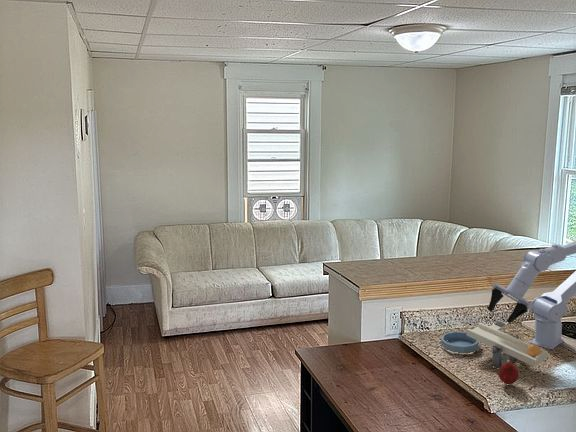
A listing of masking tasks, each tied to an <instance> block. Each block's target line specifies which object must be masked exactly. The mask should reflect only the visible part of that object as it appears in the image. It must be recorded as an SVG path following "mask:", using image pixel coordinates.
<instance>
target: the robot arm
mask: <svg viewBox="0 0 576 432" xmlns="http://www.w3.org/2000/svg"><path fill="white" fill-rule="evenodd" d="M575 254H576V240H574V241H571V242H569V243H567V244H565V245H563V246H562V245H560V244H557V243H553V244H551V246H549V247H546V248H539V250H538V251H536V250H530V251H528V252H527V253H525V254H524V256H523V258H522V259H523V260H522V263H521V265H520V268H519V270H518V271H517V273H516V274H515V275H514V277H513V279H512V280H511V281H510V283H509V284H508V286H507V288H506V287H504V286H502V285H501V284H499V283H496V282H494V283H493V285H492V286H491V287H492V290H491V298H490V301H489V304H488V307H487V310H488V311H489V312H490V313H492V311H493V310H494V309H495V307H496V305H497V304H498V303H499V302H500V301H501V300H502V299H503V298H504V296H506V297H507V298H510V299H511V300H513V301H514V302H516V305H515V307H514V309H513V311H512V312H511V314H510V315H509V317H508V318H507V319H506V323H507V324H508V323H509V324H512V323H513V322H514V321H515V320H516V319H517V318H519V317H520V316H522V315H524V314H526V313H528V311H531V312H532V313H533V316H534V317H535V318H534V319H535V322H534V338H533V339H531V340H530V341H529V344H537V345H538V346H539V347H542V348H545V349H548V350H553V349H555V348H556V347H558V346H559V345H560V344H562V343H563V342H564V341H565V340H564V338H562V334H563V333H562V331H563V330H562V329H563V327H562V326H563V324H562V323H563V322H562V318H563V317H564V315H565V313H566V312H567V311H568V305H567V304H568V302H569V301H570V300H571V299H572V298H574V296H575V295H576V270H575V271H574V272H572V274H571V275H569V277H567V278H566V279H565V280H564V281H563V282H562V283H560V285H558V287H556V288H555V289H554V290H553V291H549V292H543V293H542V294H541V295H539V296H537V297H535V298H534V299H532V301H531V302H530V301H528V300H526V299H524V296H525V295H526V294H527V291H528V290H529V289H530V287H532V284H533V283H534V282H535V280H536V278H538V275H539V274H540V272H544V271H546V270H548V269H549V267H550V266H552V265H555V264H558V263H561V262H563V261H565V260H566V258H567V256H571V255H575Z"/></svg>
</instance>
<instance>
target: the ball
mask: <svg viewBox="0 0 576 432" xmlns="http://www.w3.org/2000/svg"><path fill="white" fill-rule="evenodd" d="M529 344H530V345H529V346H528V347H527V352H528V354H529V355H530V356H533V357H536V356H537V355H539V354H540V353H541V349H542V348H541V346H538V345H537V344H531V343H529Z"/></svg>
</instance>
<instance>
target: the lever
mask: <svg viewBox="0 0 576 432" xmlns="http://www.w3.org/2000/svg"><path fill="white" fill-rule="evenodd" d="M507 327H508V322H505V321H501V320H498V321H496V322H495V323H492V324H491V325H487V324H484V323H483V322H478V324H477V326H476V327H474V328H473V329H470V328H467V329H466V332H467V334H466V335H467V336H469V337H471V338H473V339H475V340H478V341H479V343H483V344H485V345H487V346H489V347H491V348H493V346H494V345H496V346H499V347H502V353H504V354H508V355H510V356H512V357H515V358H517V360H519V361H522V362H523V363H525V364H527V365H530V366H532V367H536V366H538V365H539V364H541V363H542V362H544V361H545V360H546V359H547V358H548V354H549V351H547V350H545V349H543V348H541V353H540V354H539V355H537V356H536V357H533V356H530V355H529V354H528V352H527V347H528V346H529V345H530V344H531V343H530V342H526V341H524V340H522V339H520V338H518V339H517V338H515V337H513V336H510V335H511V334H508V333H506V332H503V331H502V330H503V329H505V328H507Z"/></svg>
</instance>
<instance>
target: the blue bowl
mask: <svg viewBox="0 0 576 432" xmlns="http://www.w3.org/2000/svg"><path fill="white" fill-rule="evenodd" d="M466 334H467V331H456V330H455V331H449V332H448V331H447V332H446V333H444V334H442V335H441V339H440V342H441V343H440V344H441V345H442V346H443V347H444V348H445V349H447V350H450V351H453V352H458V353H469V352H474V351H476V350H478V351H479V348H480V347H479V346H480V345H479V344H480V341H478V340H475V339H473V338H471V337H469V336H467V335H466ZM447 340H448V341H447ZM446 341H447V342H449V343H447V342H446ZM450 343H452V344H450ZM441 345H440V346H441ZM478 347H479V348H478Z"/></svg>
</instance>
